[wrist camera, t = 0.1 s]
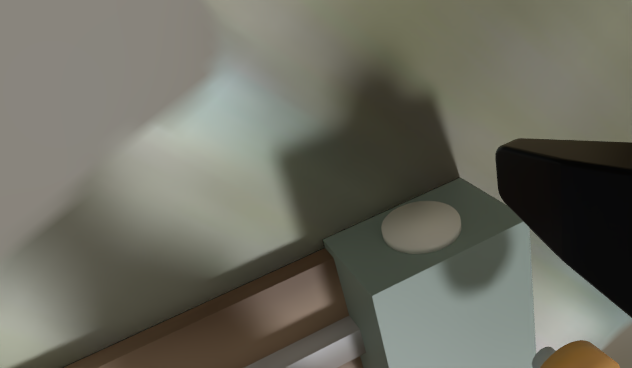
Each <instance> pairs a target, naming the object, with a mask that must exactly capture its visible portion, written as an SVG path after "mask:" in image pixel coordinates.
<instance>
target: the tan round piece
mask: <svg viewBox="0 0 632 368" xmlns="http://www.w3.org/2000/svg"><path fill="white" fill-rule="evenodd" d="M532 367H533V368H620V366H619V365H618V363H617V362H615V361H614V360H613V359H611V358H610V357H609V356H607V355H606V354H604V352H602V351H601V350H600V349H598V348H597V347H596V346H594V345H593V344H592V343H590V342H588V341H583V340H580V341H575V342H571V343H569V344H567V345H565V346H563V347H561V348H560V349H558V350H557V351H555V350H554V349H553V348H551V347H545V348H543V349H541V350H540V351H539V352H538V353H537V354H536V355H535V356H534V358H533V360H532Z"/></svg>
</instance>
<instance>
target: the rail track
mask: <svg viewBox="0 0 632 368" xmlns="http://www.w3.org/2000/svg"><path fill="white" fill-rule="evenodd" d="M364 353H366V350H365V347H364V343H363V339H362V335H361V331H360V329H359V328H358V326H357V325H356V324H355V322H354V321H353V320H352V318H351V317H350V316H349V313H348V309H347V305H346V302H345V298H344V294H343V291H342V287H341V283H340V280H339V276H338V272H337V268H336V265H335V261H334V258H333V257H332V255H331V254H330V253H329V252H328V251H327V250H326V248H324V249H322V250H320V251H317V252H315V253H313V254H311V255H309V256H306V257H304V258H302V259H300V260H298V261H295V262H293V263H291V264H289V265H287V266H285V267H282V268H280V269H278V270H276V271H274V272H271V273H269V274H267V275H265V276H263V277H260V278H258V279H256V280H254V281H252V282H250V283H247V284H245V285H243V286H241V287H239V288H236V289H234V290H232V291H230V292H228V293H225V294H223V295H221V296H219V297H217V298H215V299H212V300H210V301H208V302H206V303H204V304H201V305H199V306H197V307H195V308H193V309H190V310H188V311H186V312H184V313H182V314H180V315H177V316H175V317H173V318H171V319H169V320H166V321H164V322H162V323H160V324H158V325H155V326H153V327H151V328H149V329H147V330H145V331H142V332H140V333H138V334H136V335H134V336H131V337H129V338H127V339H125V340H123V341H120V342H118V343H116V344H114V345H112V346H110V347H107V348H105V349H103V350H101V351H99V352H96V353H94V354H92V355H90V356H88V357H85V358H83V359H81V360H79V361H77V362H75V363H72V364H70V365H68V366H66V367H64V368H363V365H362V361H361V357H360V356H361V355H363V354H364Z"/></svg>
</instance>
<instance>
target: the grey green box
mask: <svg viewBox="0 0 632 368" xmlns="http://www.w3.org/2000/svg"><path fill="white" fill-rule="evenodd" d="M323 242H324V246H325V248H326V250H327V251H328V252H329V253H330V254H331V255H332V257H333V258H334V261H335V265H336V268H337V272H338V276H339V280H340V283H341V287H342V291H343V294H344V298H345V302H346V305H347V309H348V313H349V316H350V317H351V318H352V320H353V321H354V322H355V324H356V325H357V326H358V328H359V329H360V331H361V335H362V339H363V343H364V347H365V350H366V353H364V354H363V355H361V356H360V357H361V361H362V365H363V368H533V367H532V360H533V358H534V356H535V355H536V342H535V323H534V304H533V285H532V267H531V248H530V229H529V227H528V226H527V225H526V224H525V223H524V222H523V221H522V220H521V219H520V218H519V217H518V216H517V215H516V214H515V213H514V212H513V211H512V210H511V209H510V208H509V207H508V206H507V205H505V204H504V203H502V202H500V201H499V200H497V199H495V198H494V197H492V196H490V195H489V194H487V193H485V192H484V191H482V190H480V189H479V188H477V187H475V186H474V185H472V184H470V183H469V182H467V181H465V180H464V179H462V178H458V179H456V180H454V181H452V182H449V183H447V184H445V185H443V186H440V187H438V188H436V189H434V190H432V191H429V192H427V193H425V194H423V195H421V196H418V197H416V198H414V199H412V200H410V201H407V202H405V203H403V204H401V205H398V206H396V207H394V208H392V209H390V210H387V211H385V212H383V213H381V214H379V215H376V216H374V217H372V218H370V219H368V220H365V221H363V222H361V223H359V224H357V225H354V226H352V227H350V228H348V229H345V230H343V231H341V232H339V233H337V234H334V235H332V236H330V237H328V238H326V239H323Z"/></svg>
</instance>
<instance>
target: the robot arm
mask: <svg viewBox="0 0 632 368" xmlns="http://www.w3.org/2000/svg"><path fill="white" fill-rule="evenodd" d="M496 170H497V182H498V190H499V194H500V196H501V198H502V200H503V201H504V202H505V203H506V204H507V205H508V207H509V208H510V209H511V210H512V211H513V212H514V213H515V214H516V215H517V216H518V217H519V218H520V219H521V220H522V221H523V222H524V223H525V224H526V225H527V226H528V227H529V228H530V229H531V230H532V231H533V232H534V233H535V234H536V235H537V236H538V237H539V238H540V239H541V240H542V241H543V242H544V243H545V244H546V245H547V246H548V247H549V248H550V249H551V250H552V251H553V252H554V253H555V254H556V255H557V256H558V257H559V258H560V259H562V260H563V261H564V262H565V263H566V264H567V265H568V266H570V267H571V268H572V269H573V270H574V271H575V272H577V273H578V274H579V275H580V276H582V277H583V278H584V279H585V280H586V281H588V282H589V283H590V284H591V285H592V286H594V287H595V288H596V289H597V290H599V291H600V292H601V293H602V294H603V295H605V296H606V297H607V298H608V299H610V300H611V301H612V302H613V303H614V304H616V305H617V306H618V307H619V308H620V309H622V310H623V311H624V312H625V313H627V314H628V315H629V316H630V317H631V318H632V143H629V142H602V141H576V140H549V139H523V138H521V139H515V140H513V141H511V142H509V143H506V144H504V145H502V146H500V147H499V148H498V149H497V151H496Z"/></svg>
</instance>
